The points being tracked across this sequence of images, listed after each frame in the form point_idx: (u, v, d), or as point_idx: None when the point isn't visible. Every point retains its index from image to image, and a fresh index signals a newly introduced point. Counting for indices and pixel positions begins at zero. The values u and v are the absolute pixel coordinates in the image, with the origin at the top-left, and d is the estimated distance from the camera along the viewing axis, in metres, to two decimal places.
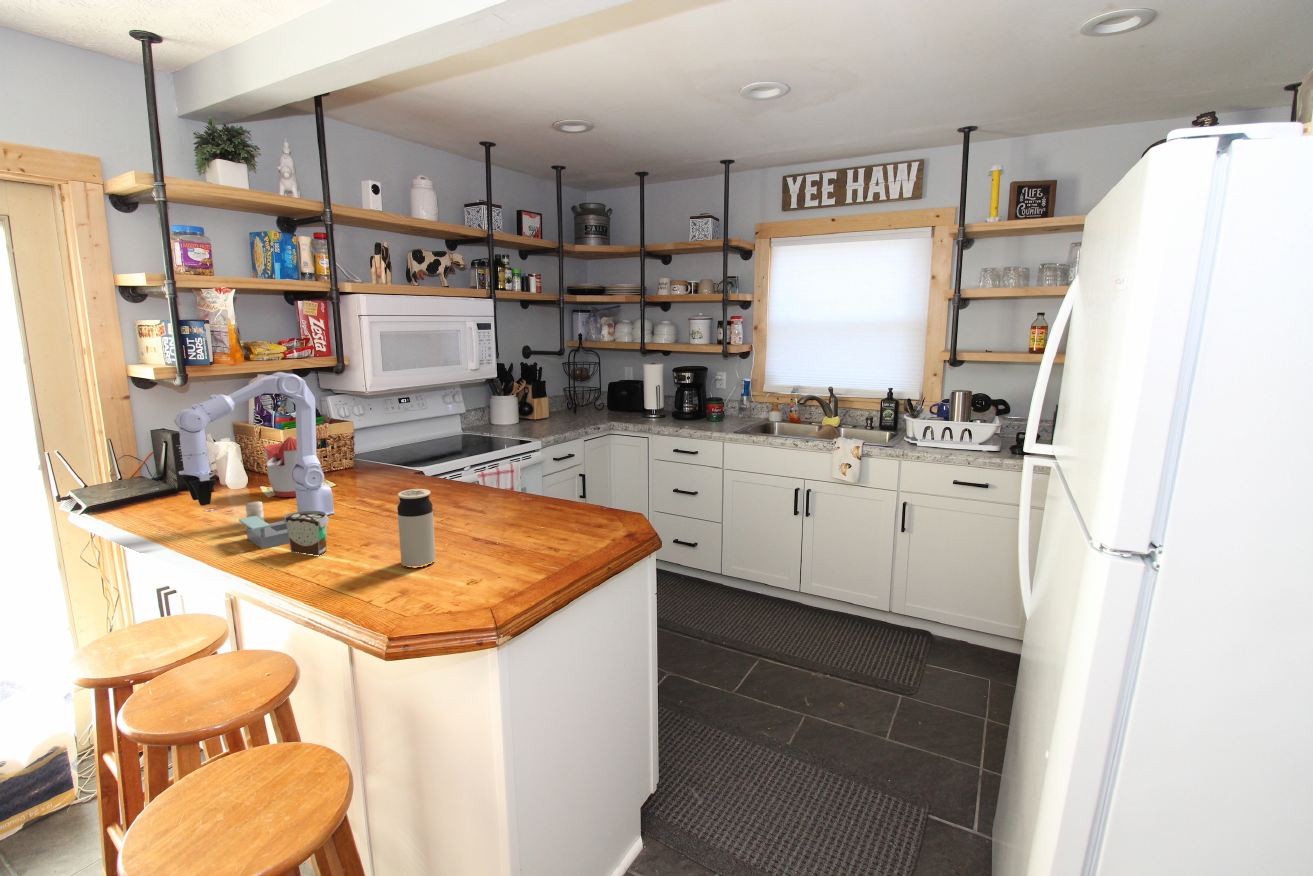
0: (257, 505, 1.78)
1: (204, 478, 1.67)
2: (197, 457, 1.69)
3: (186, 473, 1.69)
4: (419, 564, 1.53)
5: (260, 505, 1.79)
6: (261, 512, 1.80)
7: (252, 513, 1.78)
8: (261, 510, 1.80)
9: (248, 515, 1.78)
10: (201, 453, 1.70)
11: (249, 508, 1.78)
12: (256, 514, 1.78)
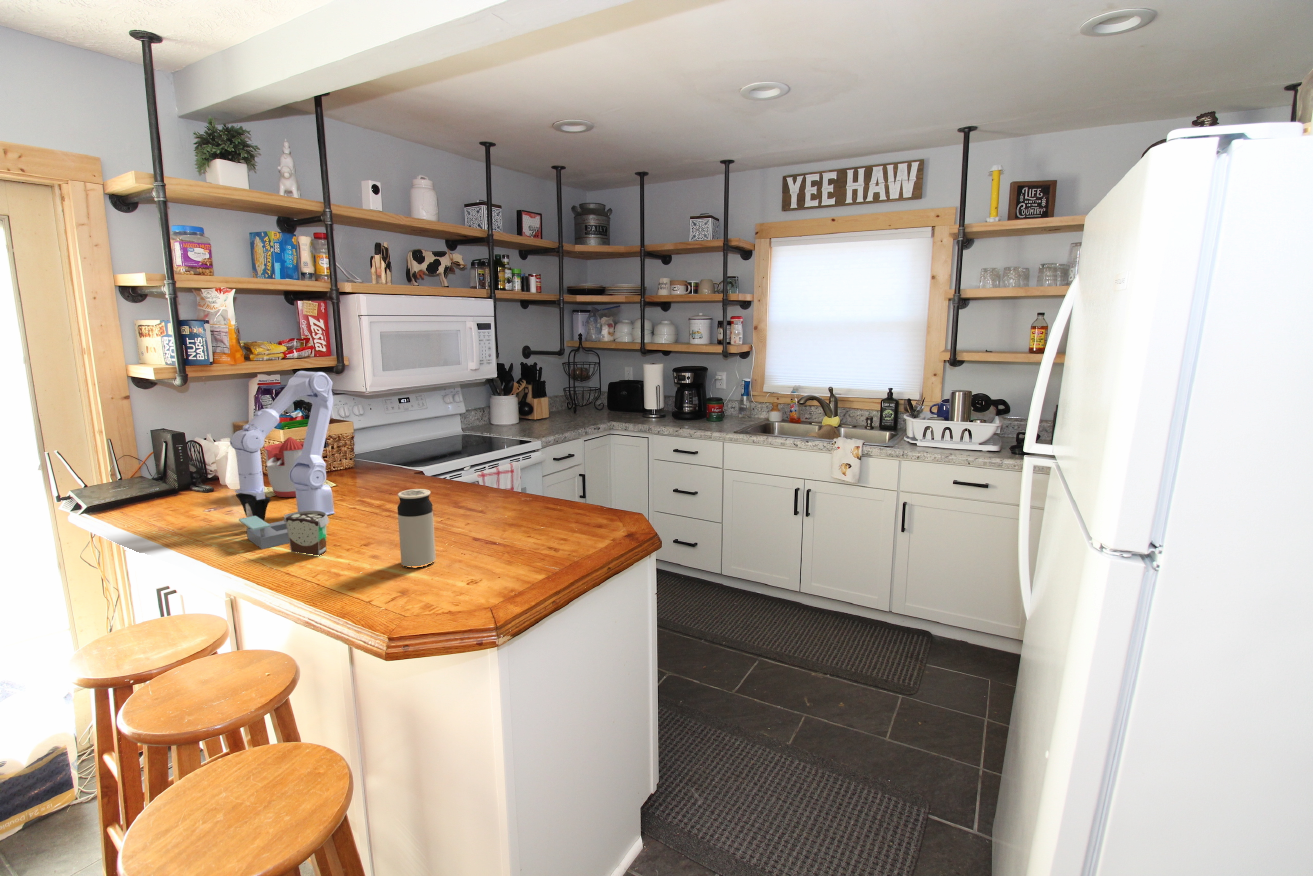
0: None
1: (260, 497, 1.74)
2: (253, 476, 1.76)
3: (242, 492, 1.76)
4: (419, 564, 1.53)
5: None
6: None
7: None
8: None
9: (247, 515, 1.78)
10: (259, 472, 1.77)
11: (249, 508, 1.78)
12: None
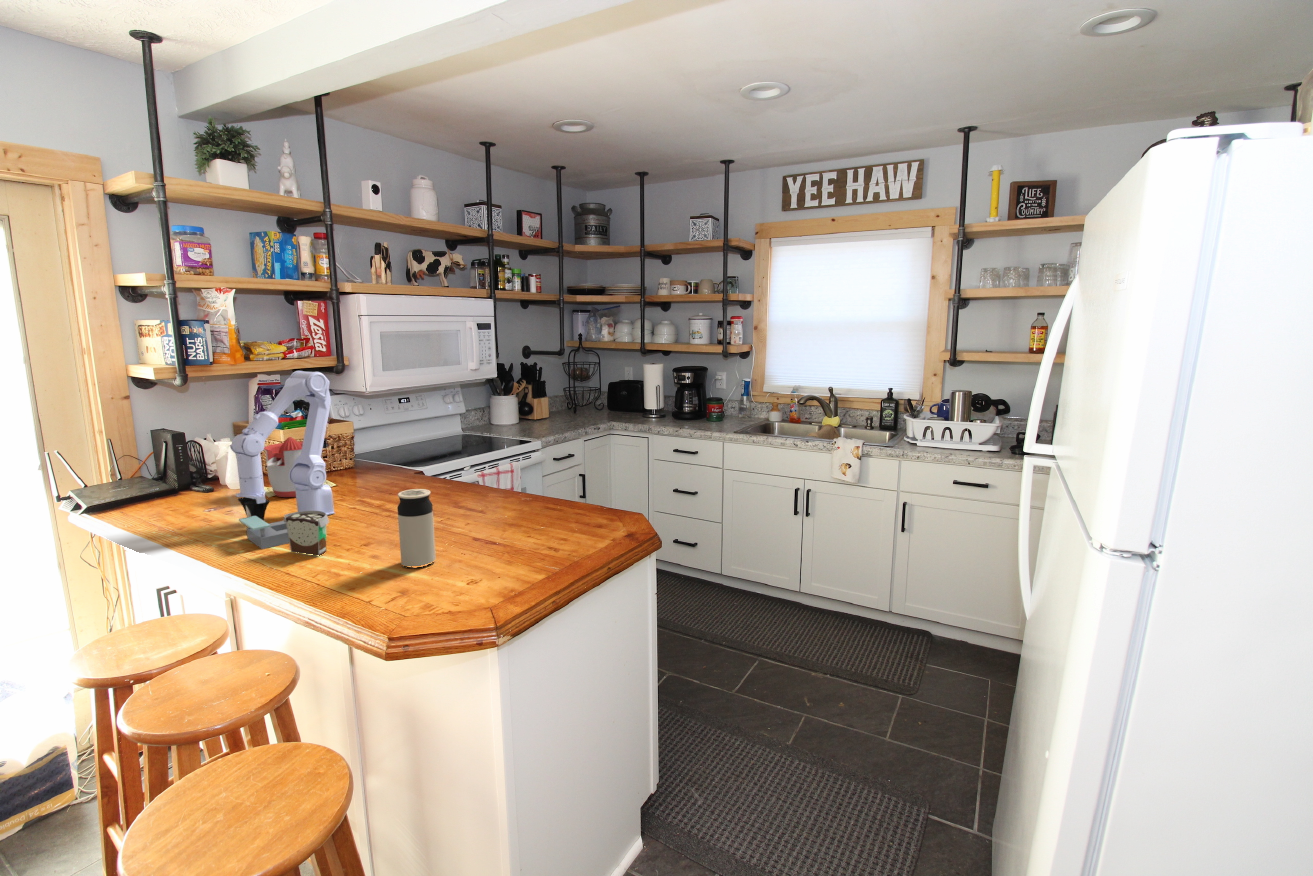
0: None
1: (261, 501, 1.74)
2: (253, 480, 1.76)
3: (243, 495, 1.76)
4: (419, 564, 1.53)
5: None
6: None
7: None
8: None
9: (248, 515, 1.78)
10: (259, 476, 1.77)
11: None
12: None
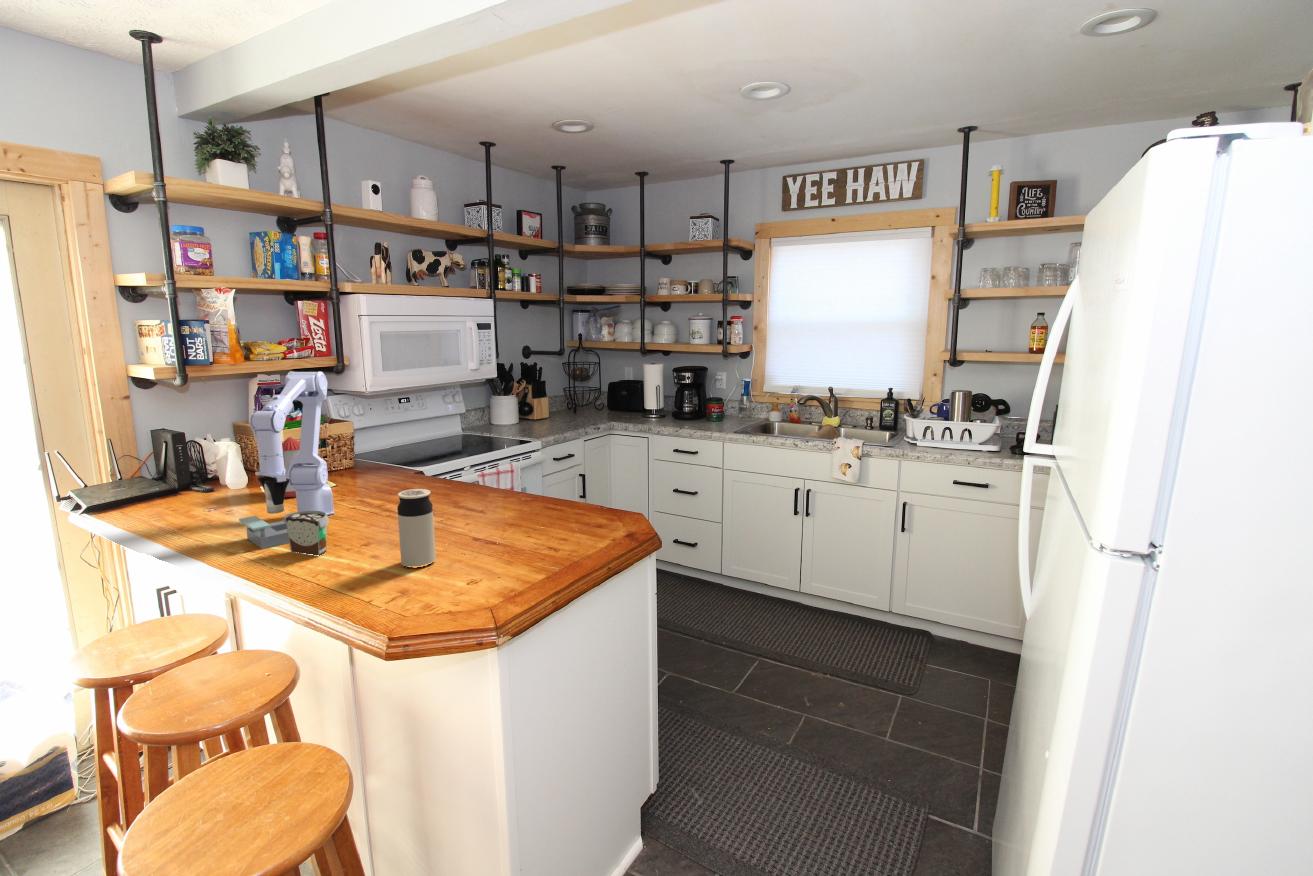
0: None
1: (281, 479, 1.68)
2: (273, 458, 1.70)
3: (263, 474, 1.70)
4: (419, 564, 1.53)
5: None
6: None
7: (270, 493, 1.72)
8: None
9: (266, 496, 1.72)
10: (282, 453, 1.73)
11: None
12: None
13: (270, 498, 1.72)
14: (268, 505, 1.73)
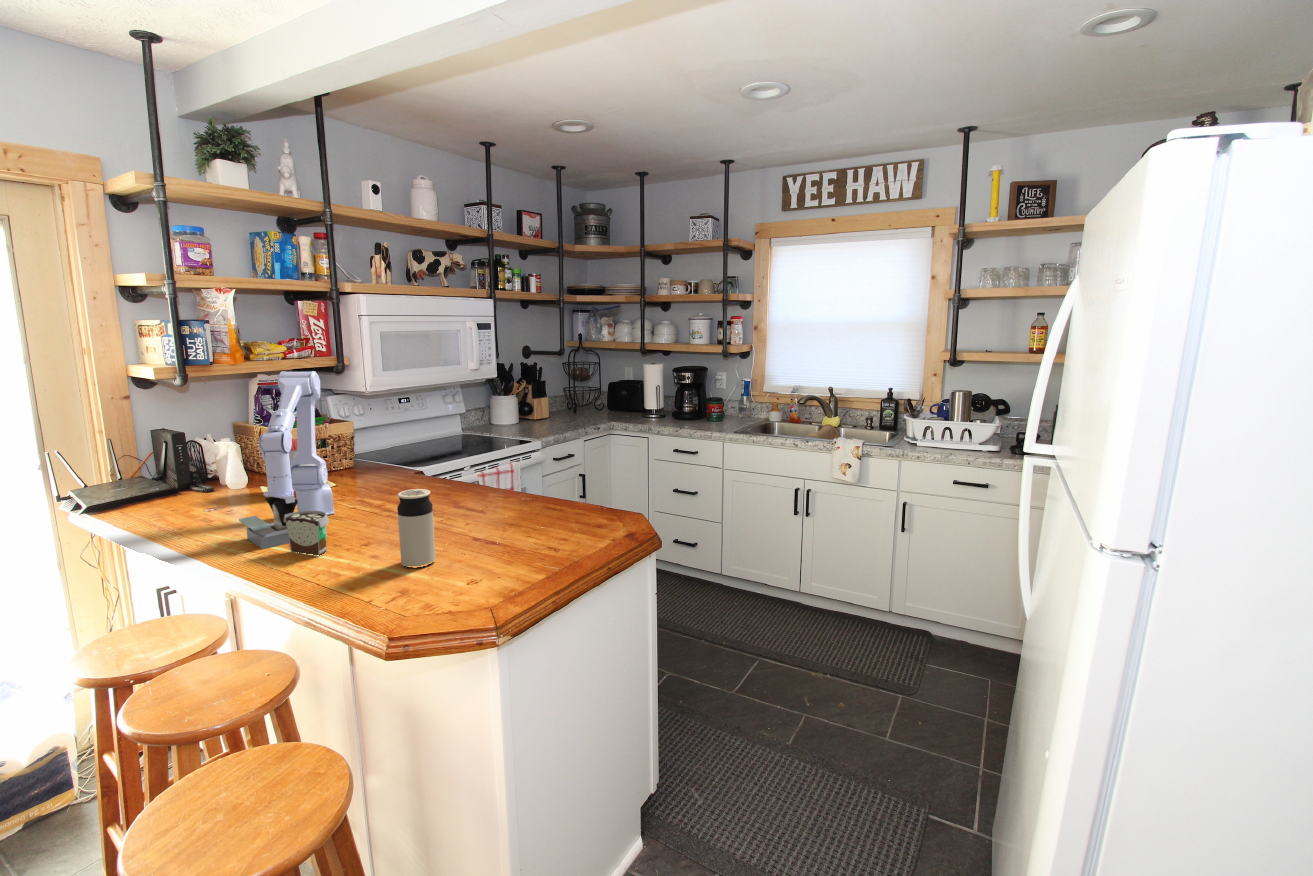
0: None
1: (290, 500, 1.68)
2: (282, 479, 1.70)
3: (271, 495, 1.70)
4: (419, 564, 1.53)
5: None
6: None
7: None
8: None
9: (274, 516, 1.72)
10: (290, 473, 1.74)
11: None
12: None
13: (279, 519, 1.72)
14: (276, 526, 1.73)
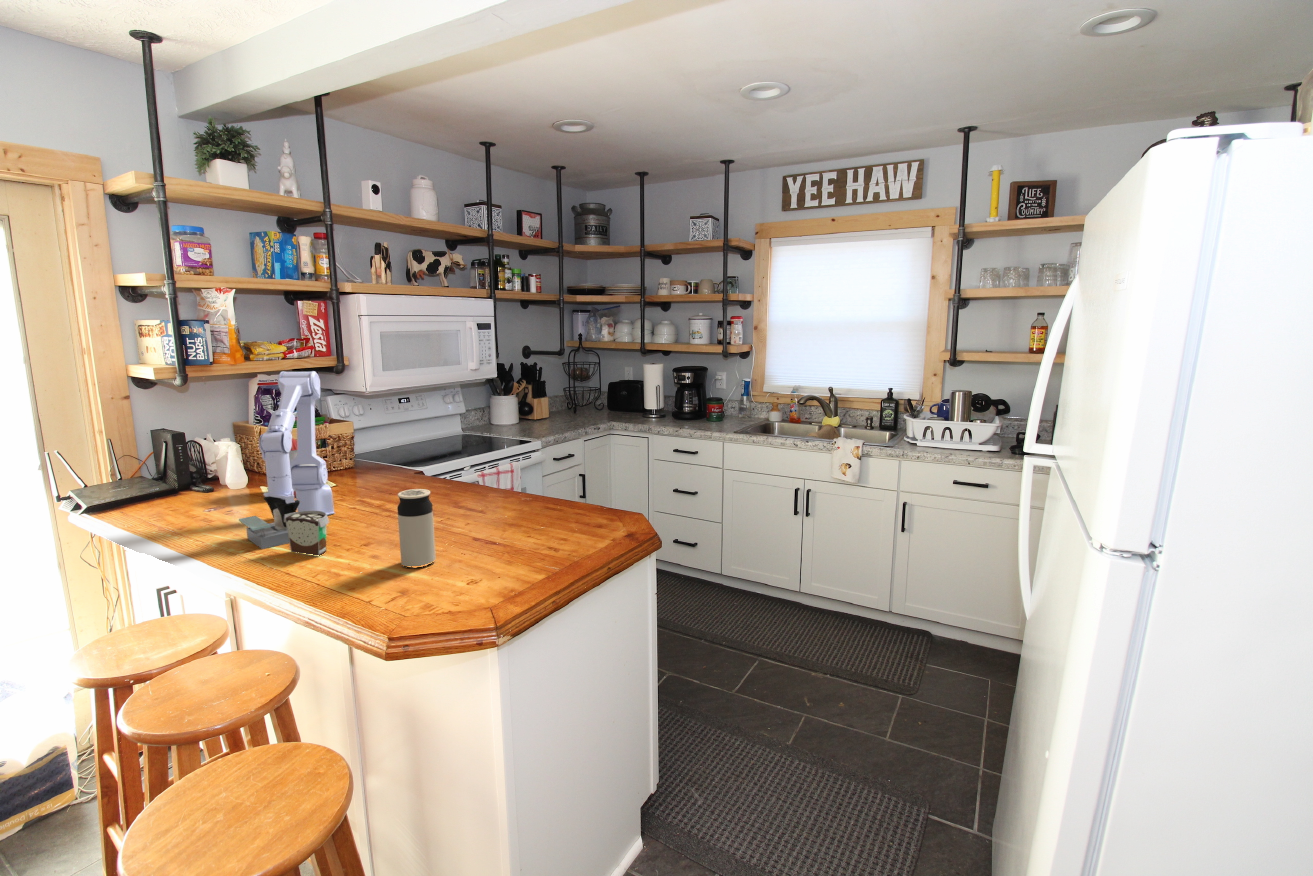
0: None
1: (290, 500, 1.68)
2: (282, 479, 1.70)
3: (271, 495, 1.70)
4: (419, 564, 1.53)
5: None
6: None
7: (279, 519, 1.72)
8: None
9: (275, 522, 1.73)
10: (290, 473, 1.74)
11: (277, 514, 1.72)
12: None
13: (279, 524, 1.73)
14: None
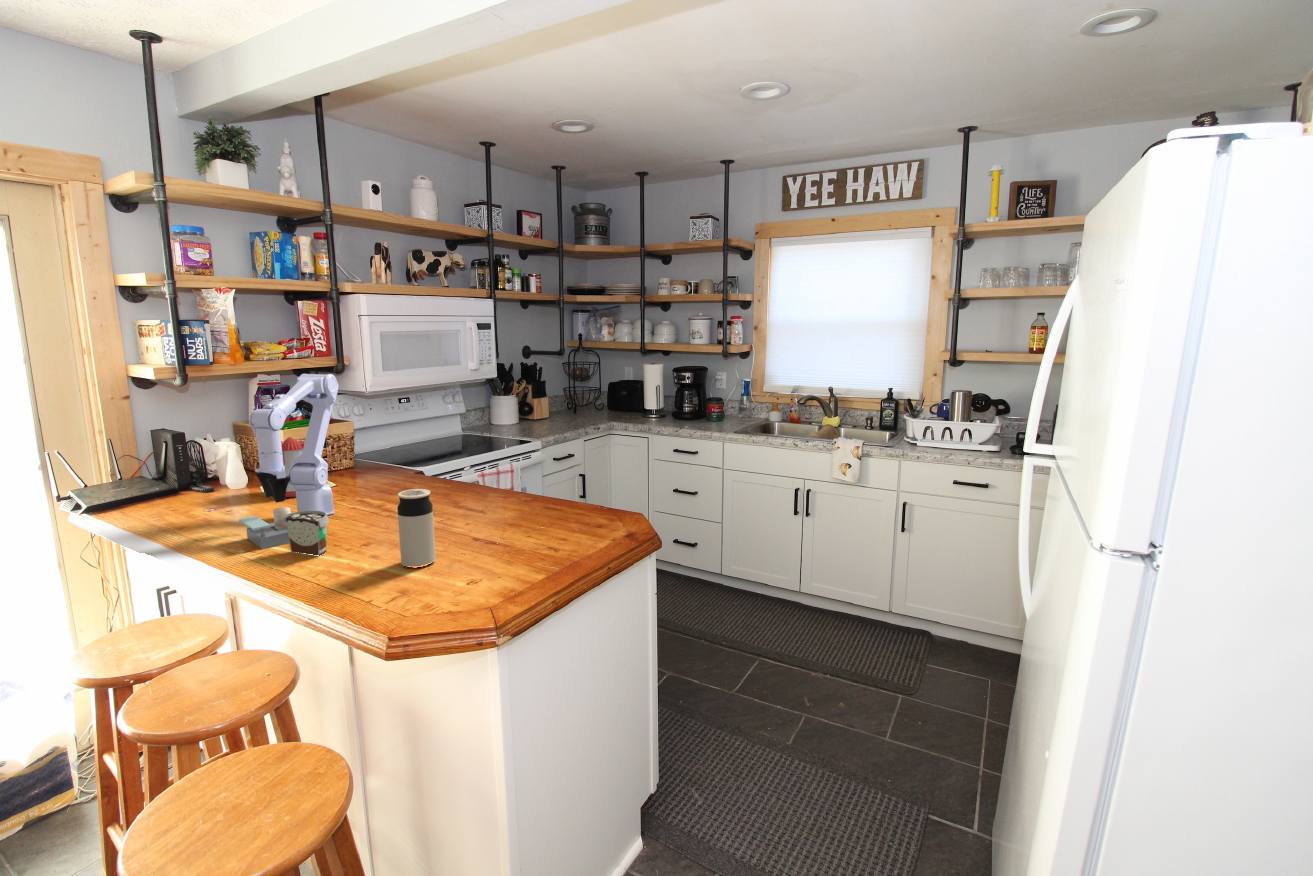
0: (284, 511, 1.73)
1: (281, 476, 1.72)
2: (273, 455, 1.74)
3: (262, 471, 1.74)
4: (419, 564, 1.53)
5: (288, 511, 1.74)
6: None
7: (279, 519, 1.72)
8: None
9: (275, 522, 1.73)
10: (281, 450, 1.77)
11: (277, 514, 1.72)
12: (283, 521, 1.73)
13: (279, 524, 1.73)
14: None
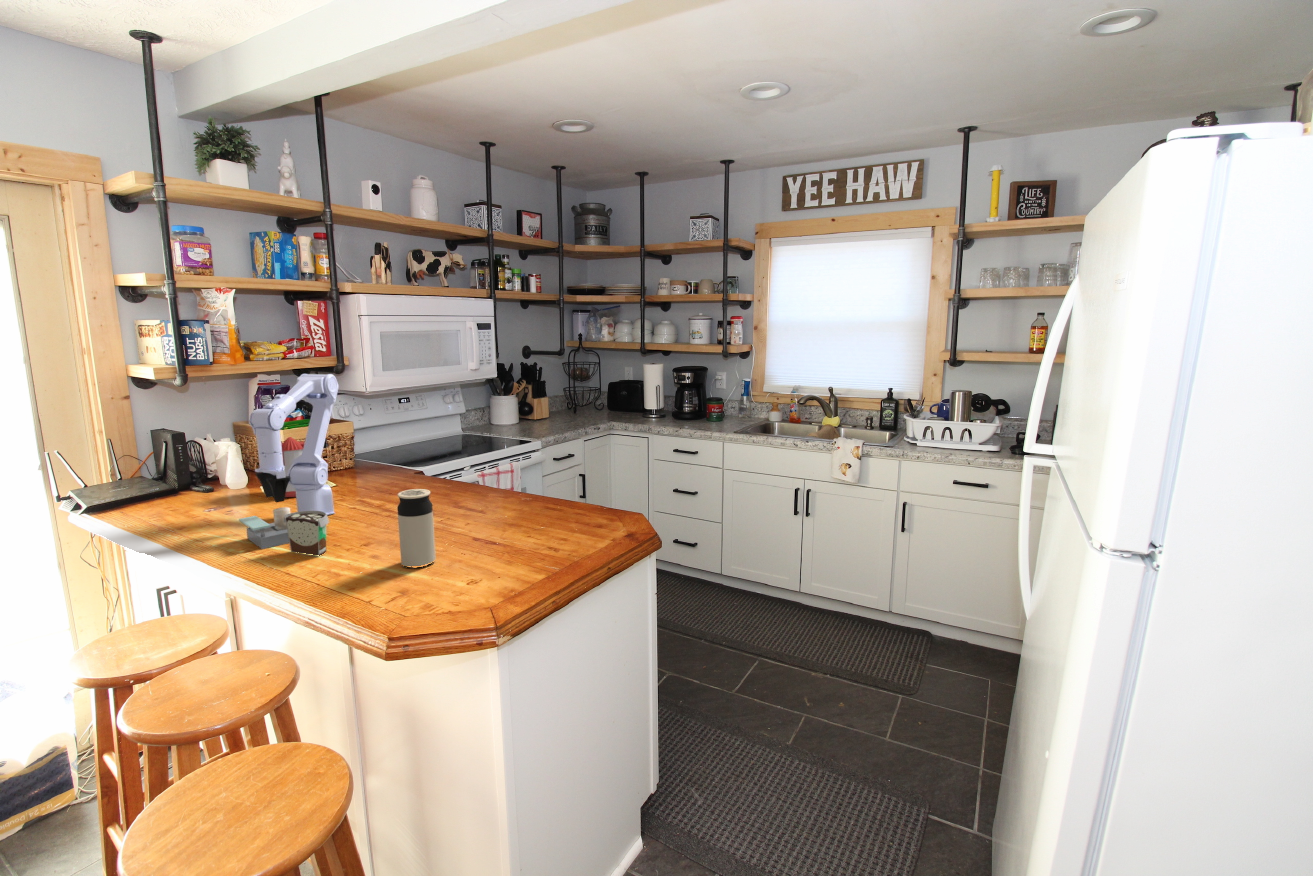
0: (284, 511, 1.73)
1: (280, 475, 1.72)
2: (273, 455, 1.74)
3: (262, 471, 1.74)
4: (419, 564, 1.53)
5: (288, 511, 1.74)
6: None
7: (279, 519, 1.72)
8: None
9: (275, 522, 1.73)
10: (281, 450, 1.77)
11: (277, 514, 1.72)
12: (283, 521, 1.73)
13: (279, 524, 1.73)
14: None
